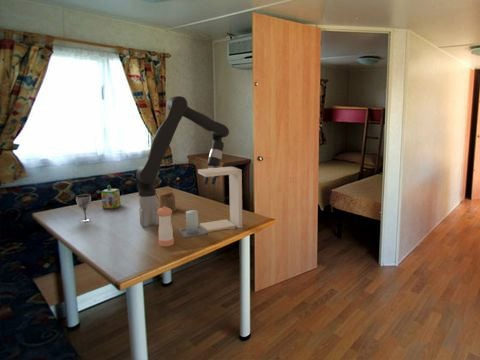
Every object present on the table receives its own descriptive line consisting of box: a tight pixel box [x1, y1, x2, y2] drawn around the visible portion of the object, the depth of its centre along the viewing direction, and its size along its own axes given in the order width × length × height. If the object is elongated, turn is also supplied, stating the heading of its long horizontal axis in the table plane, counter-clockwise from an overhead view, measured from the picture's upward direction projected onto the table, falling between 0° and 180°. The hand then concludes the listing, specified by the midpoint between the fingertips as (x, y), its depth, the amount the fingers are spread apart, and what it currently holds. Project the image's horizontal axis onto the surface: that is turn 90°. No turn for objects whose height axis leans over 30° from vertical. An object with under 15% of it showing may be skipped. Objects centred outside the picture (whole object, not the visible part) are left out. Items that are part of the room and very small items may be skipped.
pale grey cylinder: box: [185, 209, 199, 234], centre depth 182 cm, size 6×6×11 cm
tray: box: [177, 225, 209, 239], centre depth 183 cm, size 12×12×2 cm
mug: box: [156, 191, 178, 212], centre depth 226 cm, size 12×18×12 cm, turn 132°
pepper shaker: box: [157, 206, 175, 247], centre depth 167 cm, size 7×7×19 cm
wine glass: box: [75, 193, 92, 221], centre depth 207 cm, size 8×8×15 cm
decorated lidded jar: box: [100, 184, 122, 209], centre depth 236 cm, size 9×9×15 cm
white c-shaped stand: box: [197, 166, 243, 233], centre depth 190 cm, size 20×12×32 cm, turn 115°
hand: (209, 184), depth 208 cm, fingers open, 8 cm apart
